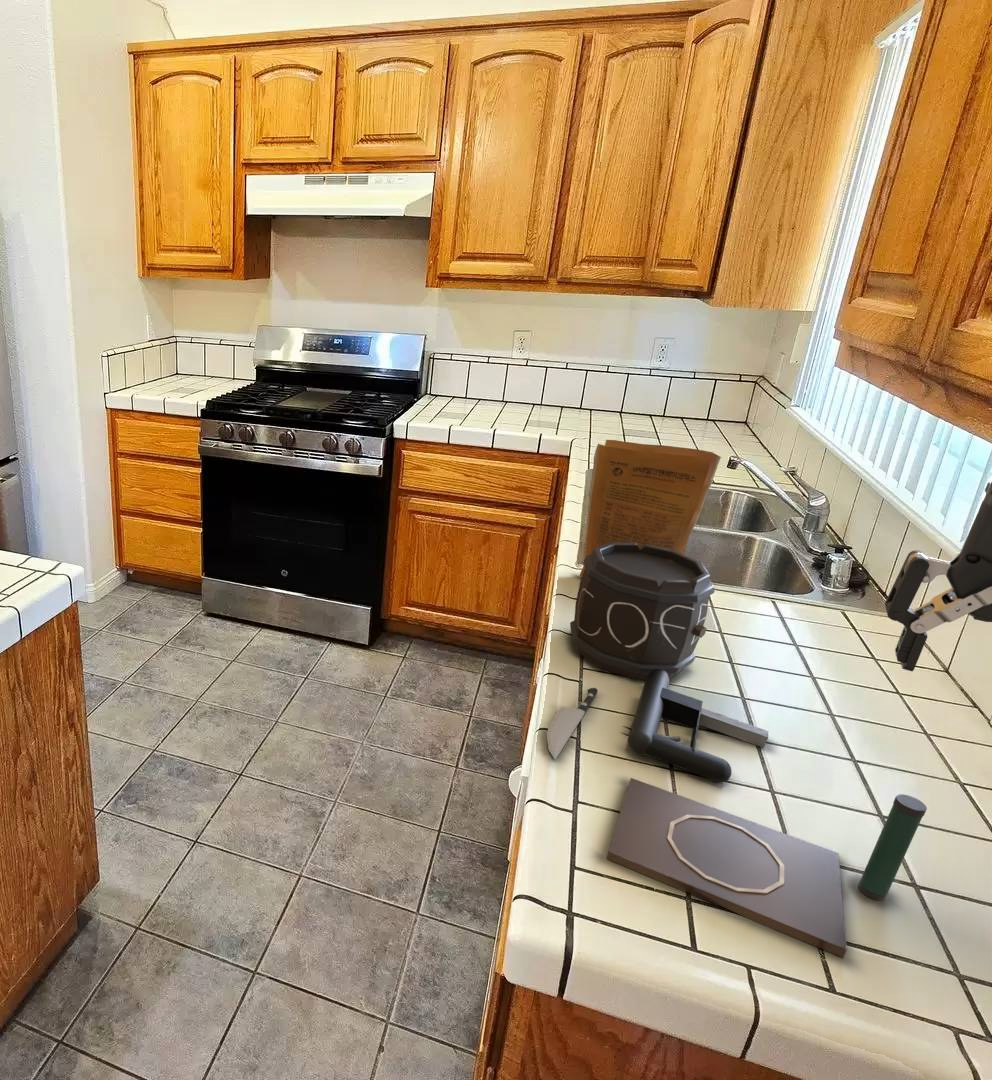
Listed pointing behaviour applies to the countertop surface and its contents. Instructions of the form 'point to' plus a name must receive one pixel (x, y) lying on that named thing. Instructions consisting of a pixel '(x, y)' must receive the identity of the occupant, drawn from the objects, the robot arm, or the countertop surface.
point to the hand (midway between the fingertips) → (967, 682)
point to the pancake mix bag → (646, 494)
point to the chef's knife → (566, 723)
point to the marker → (891, 846)
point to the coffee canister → (640, 609)
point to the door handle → (686, 712)
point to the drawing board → (732, 864)
